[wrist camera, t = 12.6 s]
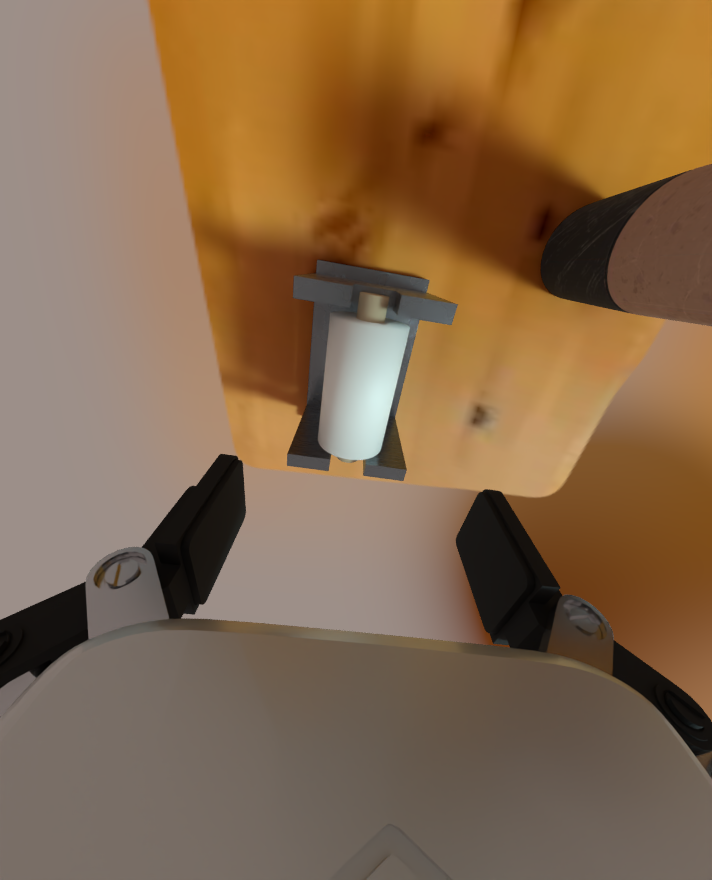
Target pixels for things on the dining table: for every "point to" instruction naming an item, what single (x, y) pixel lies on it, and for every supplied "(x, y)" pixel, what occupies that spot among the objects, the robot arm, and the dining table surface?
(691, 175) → the travel mug
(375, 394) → the paper roll
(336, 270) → the roll holder
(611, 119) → the dining table surface
